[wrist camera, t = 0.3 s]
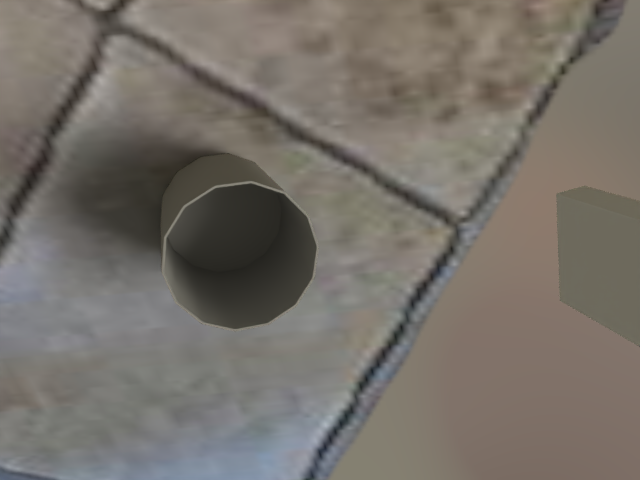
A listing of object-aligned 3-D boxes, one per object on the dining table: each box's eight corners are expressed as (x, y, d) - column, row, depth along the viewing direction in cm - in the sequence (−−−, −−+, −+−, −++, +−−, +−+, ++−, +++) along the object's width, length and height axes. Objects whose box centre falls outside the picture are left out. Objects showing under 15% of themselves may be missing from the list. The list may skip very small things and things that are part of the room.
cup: (170, 278, 39) (174, 343, 30) (150, 162, 36) (147, 194, 27) (286, 258, 41) (324, 314, 32) (275, 148, 38) (313, 172, 29)
